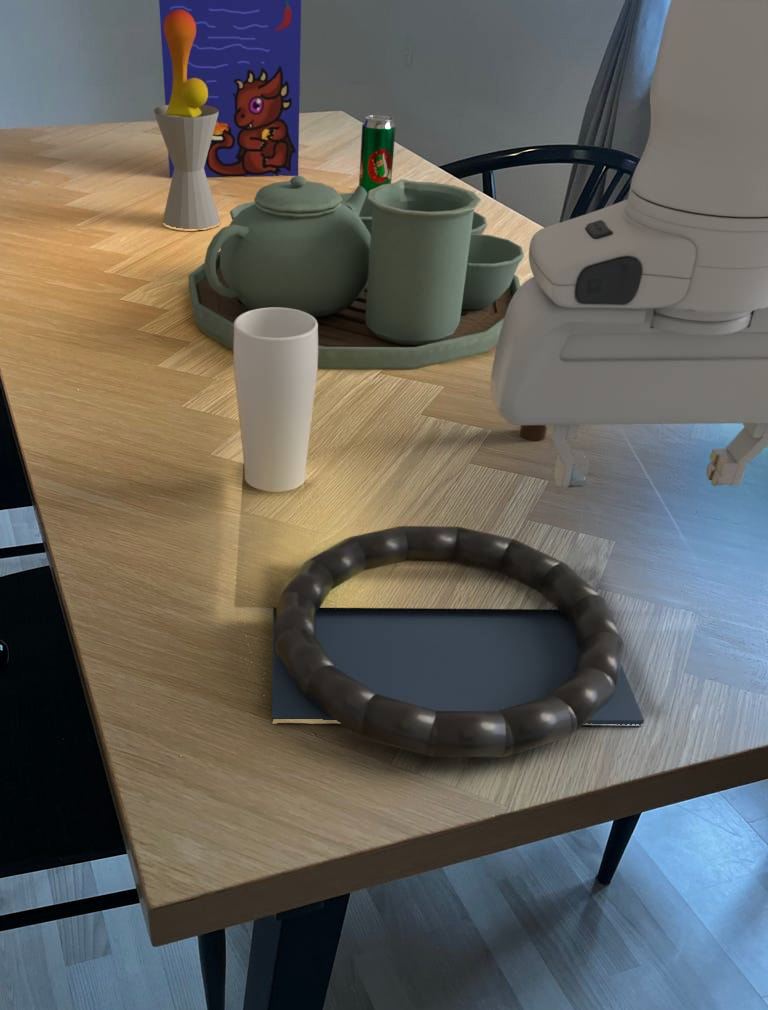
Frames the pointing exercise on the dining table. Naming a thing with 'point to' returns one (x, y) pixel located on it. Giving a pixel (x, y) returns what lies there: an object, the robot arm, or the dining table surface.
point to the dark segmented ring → (449, 728)
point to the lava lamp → (187, 133)
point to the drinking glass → (275, 394)
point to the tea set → (363, 271)
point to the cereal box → (245, 81)
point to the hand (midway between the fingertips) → (645, 482)
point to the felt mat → (449, 659)
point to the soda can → (376, 151)
